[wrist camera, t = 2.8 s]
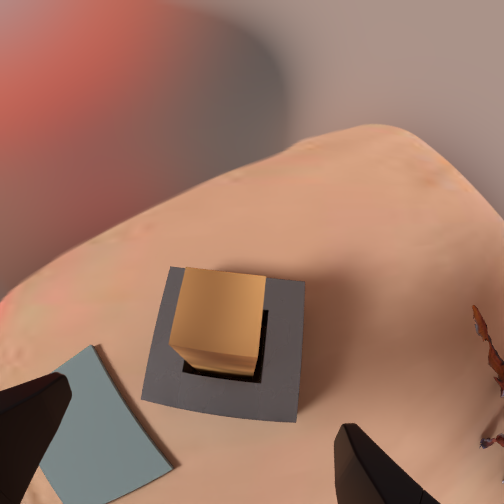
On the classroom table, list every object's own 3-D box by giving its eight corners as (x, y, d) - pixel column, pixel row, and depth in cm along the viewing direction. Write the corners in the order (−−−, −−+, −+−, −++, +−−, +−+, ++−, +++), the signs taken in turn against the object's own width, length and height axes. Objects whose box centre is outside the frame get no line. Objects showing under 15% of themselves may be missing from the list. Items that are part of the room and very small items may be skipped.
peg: (257, 332, 20) (265, 276, 13) (251, 380, 18) (257, 357, 11) (208, 326, 20) (185, 267, 13) (200, 373, 18) (168, 344, 11)
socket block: (296, 301, 21) (304, 281, 18) (287, 420, 17) (296, 422, 14) (180, 287, 22) (170, 266, 19) (157, 401, 17) (140, 399, 14)
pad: (174, 467, 15) (172, 469, 14) (75, 515, 11) (72, 516, 10) (93, 346, 19) (90, 344, 18) (13, 403, 15) (9, 402, 15)
